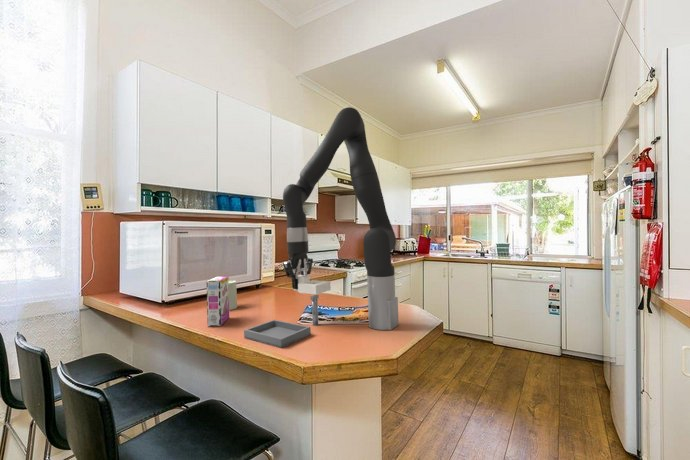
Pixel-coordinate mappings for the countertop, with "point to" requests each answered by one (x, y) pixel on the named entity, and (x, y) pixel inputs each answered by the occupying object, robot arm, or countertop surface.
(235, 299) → the can
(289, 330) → the tray
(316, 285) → the collar
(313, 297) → the post
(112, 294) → the countertop surface
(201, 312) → the countertop surface
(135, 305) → the countertop surface
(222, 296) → the candy bar box
